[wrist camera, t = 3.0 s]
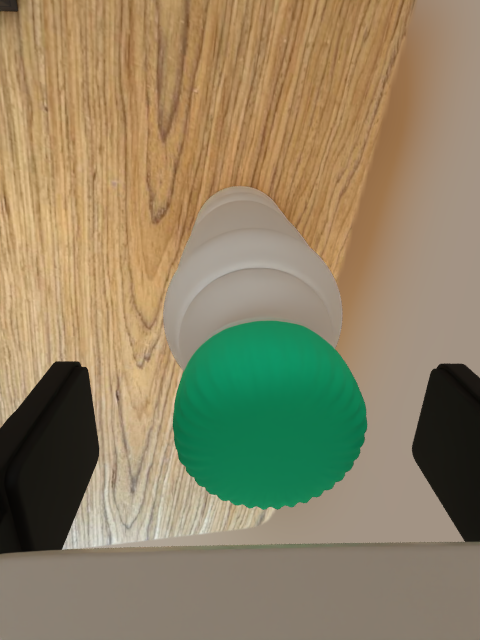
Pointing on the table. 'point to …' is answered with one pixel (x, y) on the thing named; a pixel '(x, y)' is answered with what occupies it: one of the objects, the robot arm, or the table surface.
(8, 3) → the divided storage box
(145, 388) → the table surface
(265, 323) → the water bottle
